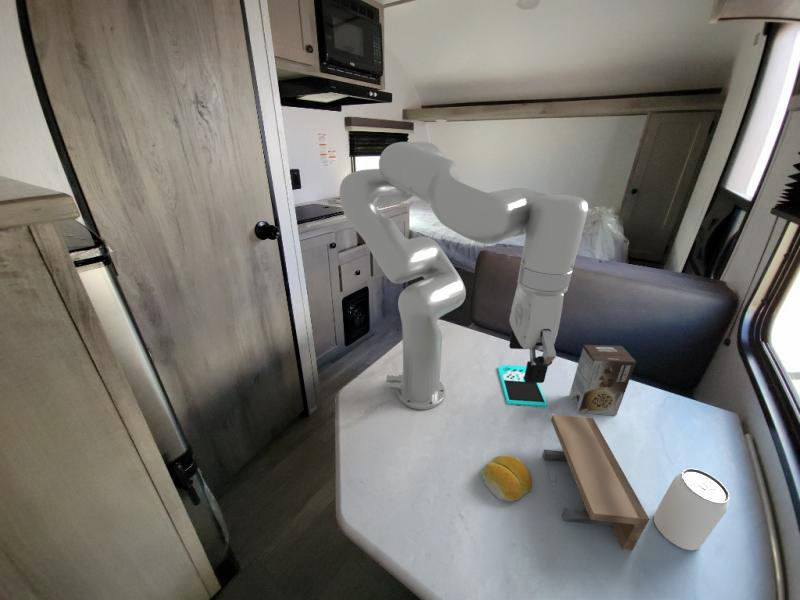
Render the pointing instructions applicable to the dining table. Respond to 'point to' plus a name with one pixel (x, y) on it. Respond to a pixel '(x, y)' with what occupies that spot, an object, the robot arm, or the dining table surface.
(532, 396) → the handheld game console
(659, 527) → the can
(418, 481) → the dining table surface
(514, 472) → the bread roll
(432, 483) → the dining table surface
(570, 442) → the overhang shelf
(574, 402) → the coffee box
